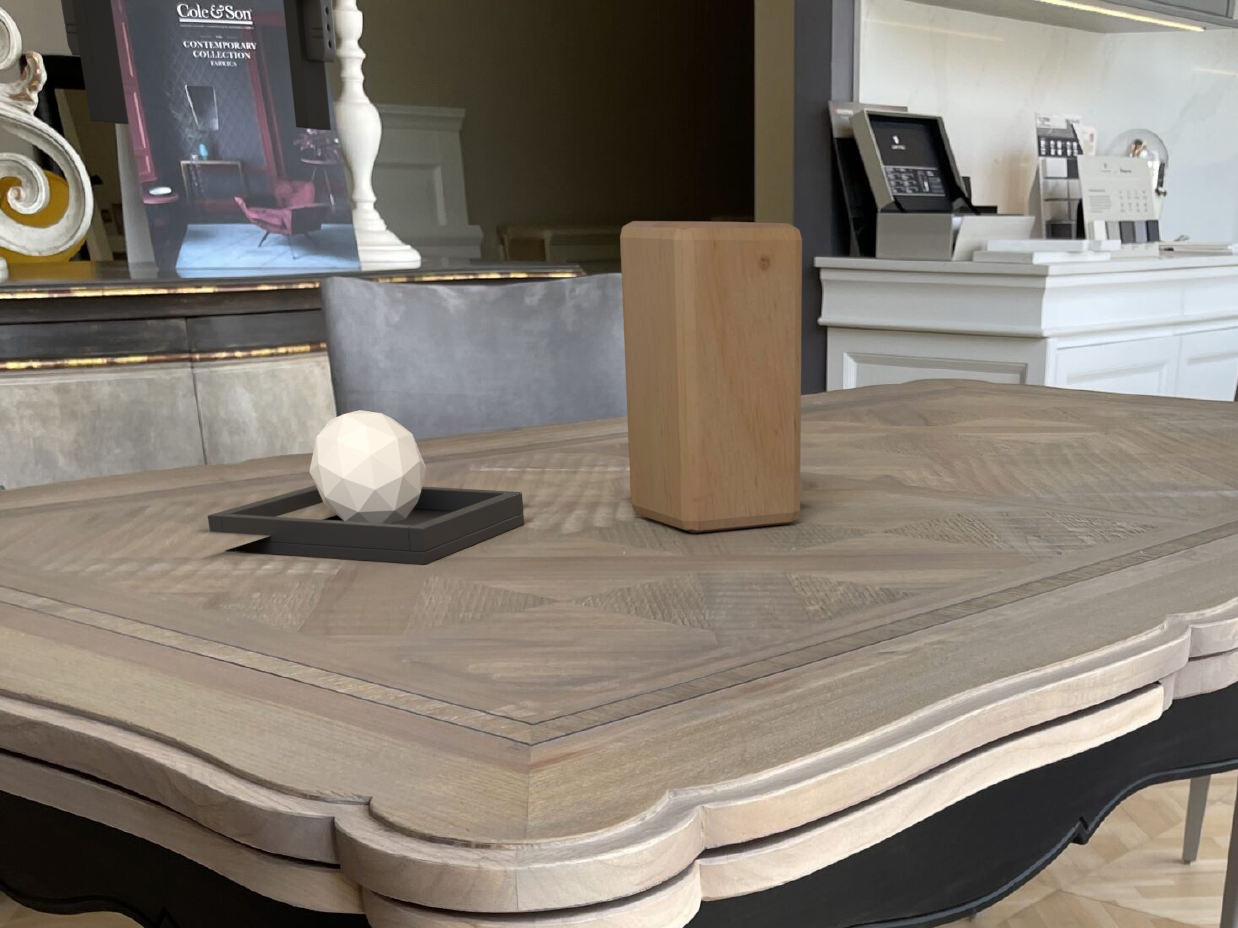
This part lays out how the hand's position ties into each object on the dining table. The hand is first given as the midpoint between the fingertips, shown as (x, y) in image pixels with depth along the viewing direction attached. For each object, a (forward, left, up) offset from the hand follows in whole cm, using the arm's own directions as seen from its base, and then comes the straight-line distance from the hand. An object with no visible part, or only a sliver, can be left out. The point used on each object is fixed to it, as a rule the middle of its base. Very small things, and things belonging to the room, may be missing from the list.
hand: (210, 126), depth 95 cm
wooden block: (+24, +23, -25) cm, 41 cm away
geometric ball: (+3, +9, -24) cm, 26 cm away
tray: (+3, +9, -25) cm, 27 cm away
